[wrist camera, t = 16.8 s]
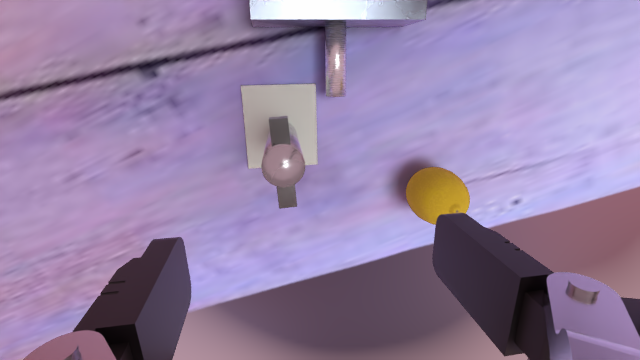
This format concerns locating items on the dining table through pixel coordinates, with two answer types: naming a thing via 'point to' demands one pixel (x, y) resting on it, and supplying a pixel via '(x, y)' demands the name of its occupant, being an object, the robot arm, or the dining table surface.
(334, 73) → the block
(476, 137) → the dining table surface
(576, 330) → the robot arm
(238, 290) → the dining table surface
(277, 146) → the chuck key
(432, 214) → the lemon
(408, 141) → the dining table surface
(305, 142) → the mat
